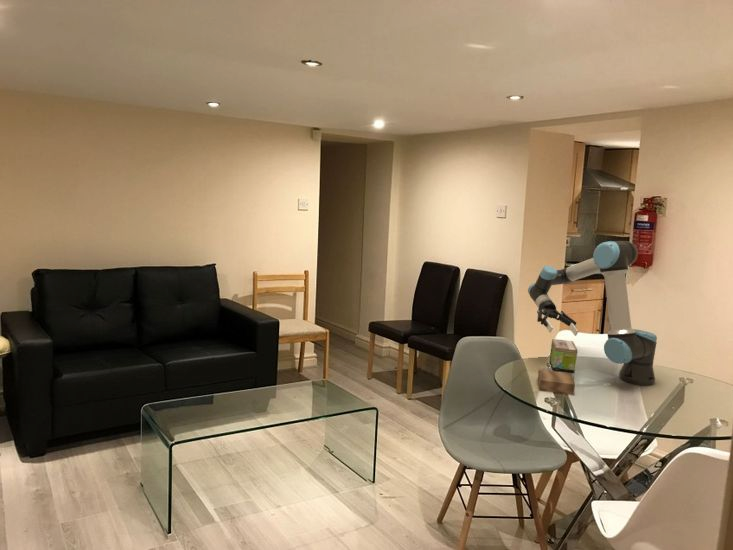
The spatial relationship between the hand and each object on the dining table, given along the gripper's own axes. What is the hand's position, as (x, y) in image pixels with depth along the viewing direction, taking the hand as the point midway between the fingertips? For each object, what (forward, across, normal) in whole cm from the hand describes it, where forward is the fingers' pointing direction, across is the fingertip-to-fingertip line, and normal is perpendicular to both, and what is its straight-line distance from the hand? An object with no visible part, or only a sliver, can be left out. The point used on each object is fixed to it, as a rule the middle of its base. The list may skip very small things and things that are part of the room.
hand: (564, 331), depth 275 cm
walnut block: (+24, +10, -13) cm, 30 cm away
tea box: (+10, -1, -17) cm, 20 cm away
